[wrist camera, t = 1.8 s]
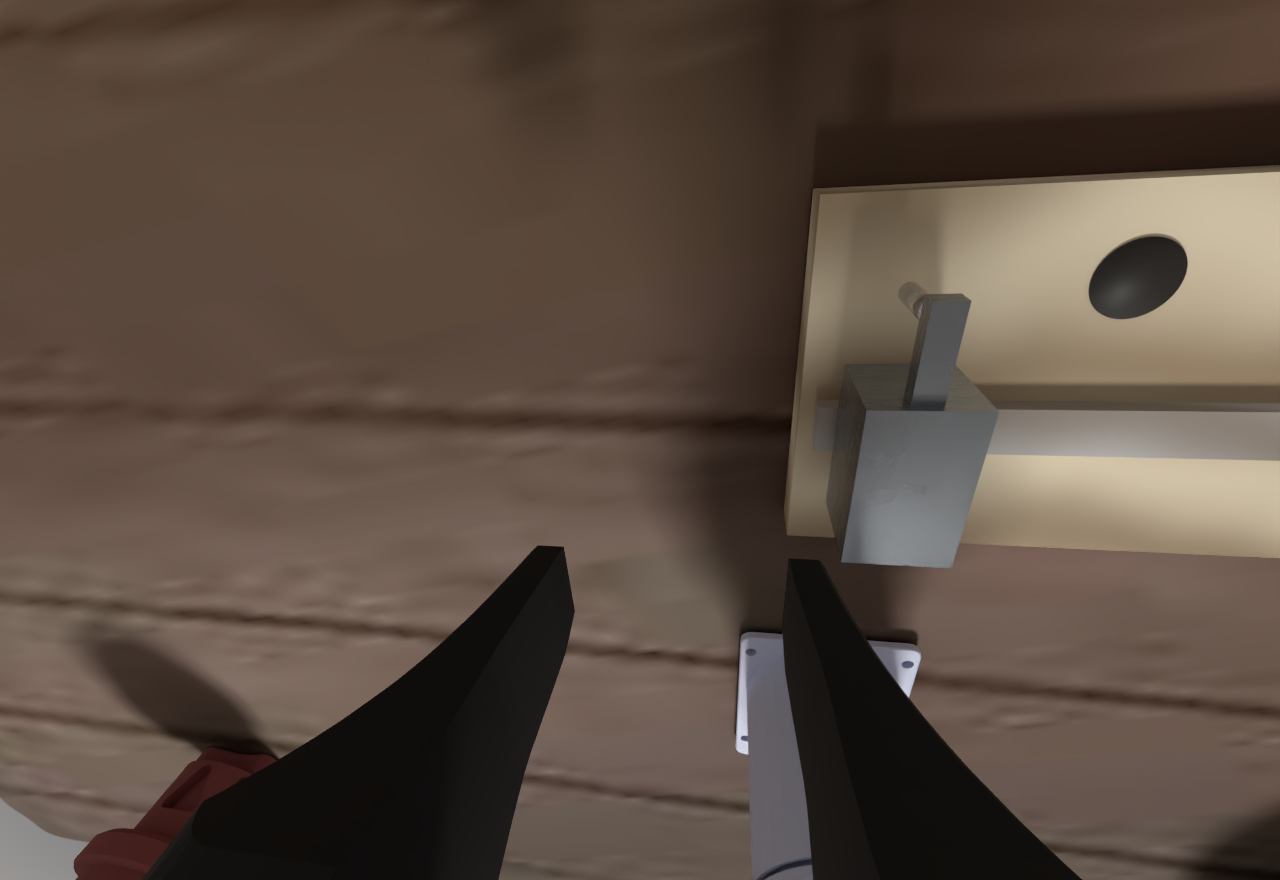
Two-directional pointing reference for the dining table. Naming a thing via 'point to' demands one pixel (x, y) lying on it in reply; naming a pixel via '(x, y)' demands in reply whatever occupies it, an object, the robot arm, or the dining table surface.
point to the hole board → (1070, 349)
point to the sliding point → (909, 445)
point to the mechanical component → (165, 817)
